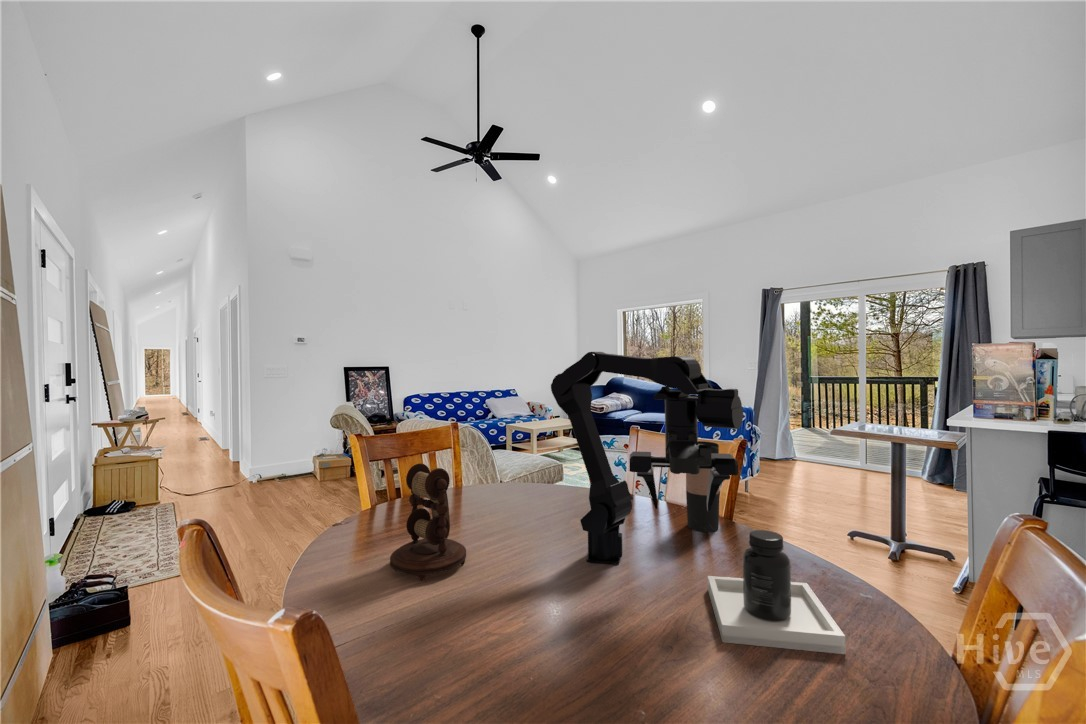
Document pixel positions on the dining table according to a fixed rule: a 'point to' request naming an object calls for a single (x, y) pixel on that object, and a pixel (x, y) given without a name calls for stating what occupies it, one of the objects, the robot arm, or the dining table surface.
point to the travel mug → (701, 499)
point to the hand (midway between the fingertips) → (682, 509)
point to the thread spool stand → (428, 527)
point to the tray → (799, 631)
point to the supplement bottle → (767, 577)
